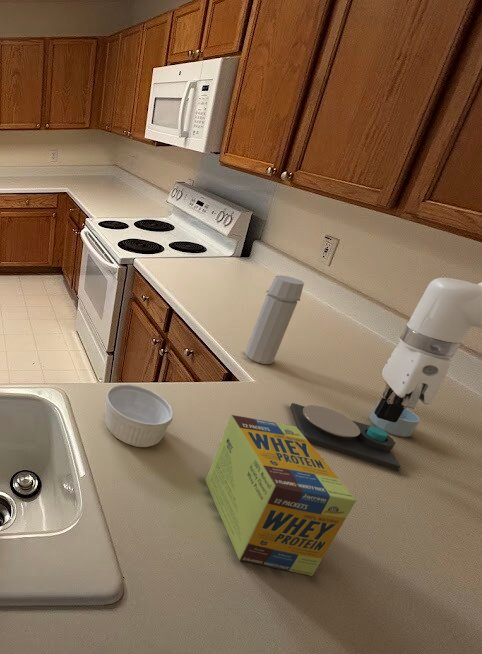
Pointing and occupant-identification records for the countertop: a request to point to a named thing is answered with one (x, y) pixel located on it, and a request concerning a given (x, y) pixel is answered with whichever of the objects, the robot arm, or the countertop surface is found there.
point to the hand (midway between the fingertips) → (384, 417)
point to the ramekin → (137, 415)
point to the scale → (348, 441)
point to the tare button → (377, 433)
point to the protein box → (276, 495)
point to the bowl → (397, 423)
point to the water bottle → (274, 319)
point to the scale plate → (331, 421)
